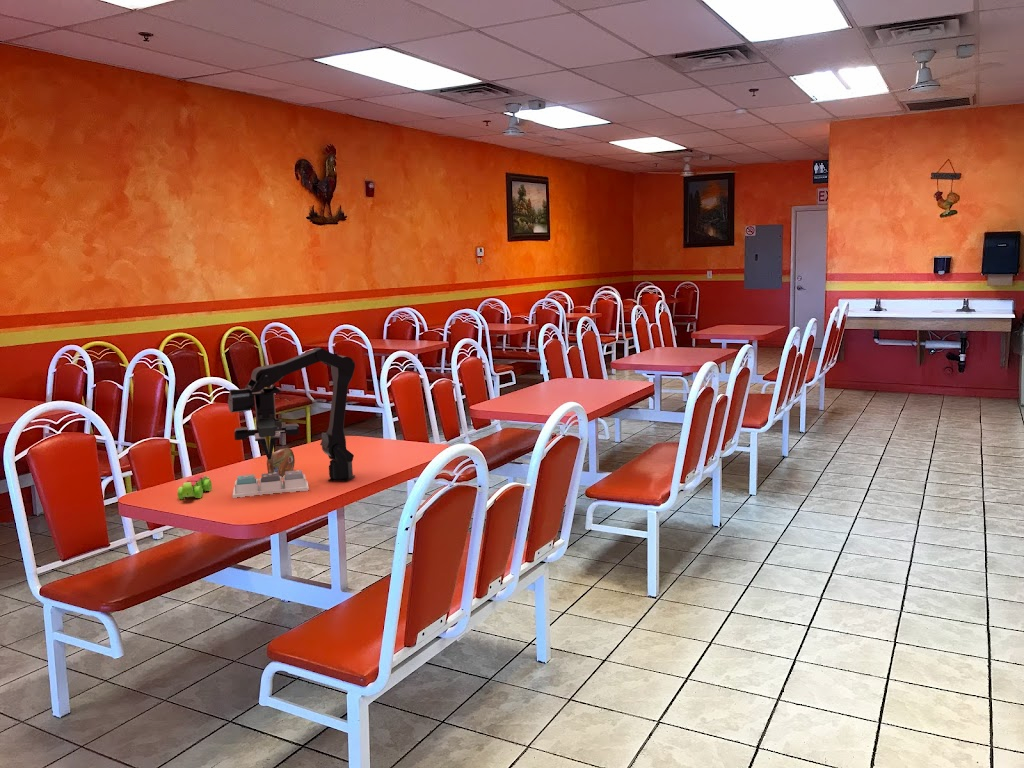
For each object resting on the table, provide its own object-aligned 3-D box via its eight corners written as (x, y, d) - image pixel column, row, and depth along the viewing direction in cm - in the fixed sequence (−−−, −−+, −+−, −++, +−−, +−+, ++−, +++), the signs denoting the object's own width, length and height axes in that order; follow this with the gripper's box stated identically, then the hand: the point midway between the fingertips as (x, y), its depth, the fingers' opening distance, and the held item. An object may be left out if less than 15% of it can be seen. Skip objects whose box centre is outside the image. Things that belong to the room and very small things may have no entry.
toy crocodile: (195, 487, 264) (194, 468, 263) (216, 486, 264) (215, 467, 263) (172, 504, 244) (171, 484, 244) (195, 503, 245) (194, 483, 244)
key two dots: (302, 477, 261) (301, 469, 260) (302, 481, 256) (302, 473, 256) (285, 479, 259) (285, 471, 259) (286, 483, 255) (285, 474, 254)
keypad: (307, 483, 263) (306, 472, 263) (308, 490, 255) (308, 479, 254) (233, 490, 257) (233, 479, 257) (232, 498, 249) (232, 486, 248)
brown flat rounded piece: (275, 481, 268) (273, 455, 267) (266, 481, 269) (264, 455, 268) (296, 470, 283) (294, 445, 282) (287, 469, 284) (285, 445, 283)
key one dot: (255, 482, 257) (254, 473, 257) (255, 486, 252) (254, 477, 252) (238, 484, 256) (237, 475, 255) (237, 487, 251) (237, 479, 250)
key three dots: (278, 480, 259) (278, 471, 259) (279, 483, 254) (278, 475, 254) (262, 481, 257) (261, 473, 257) (262, 485, 253) (261, 476, 252)
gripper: (232, 415, 243) (236, 468, 245) (298, 410, 248) (301, 461, 250) (233, 409, 253) (237, 460, 255) (296, 404, 258) (300, 454, 260)
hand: (269, 459), depth 255 cm, fingers closed
